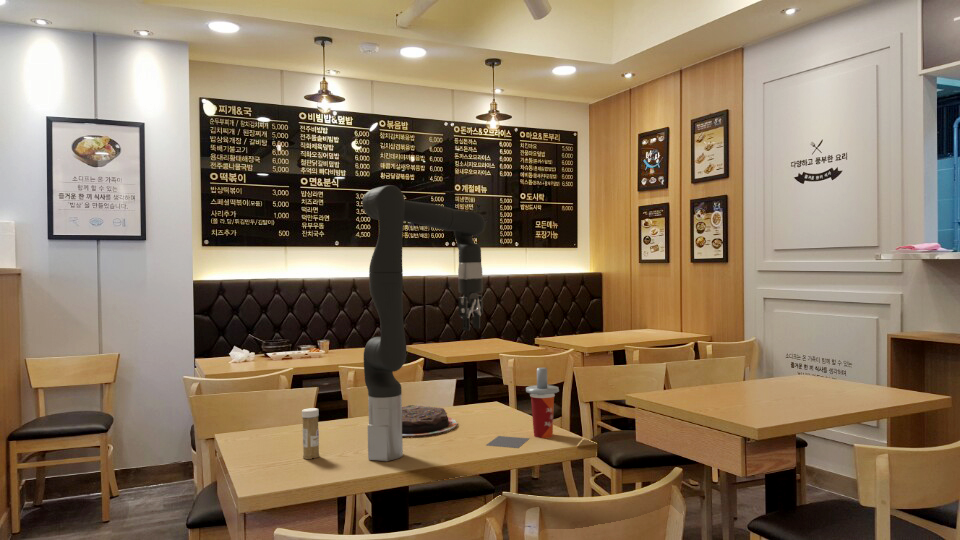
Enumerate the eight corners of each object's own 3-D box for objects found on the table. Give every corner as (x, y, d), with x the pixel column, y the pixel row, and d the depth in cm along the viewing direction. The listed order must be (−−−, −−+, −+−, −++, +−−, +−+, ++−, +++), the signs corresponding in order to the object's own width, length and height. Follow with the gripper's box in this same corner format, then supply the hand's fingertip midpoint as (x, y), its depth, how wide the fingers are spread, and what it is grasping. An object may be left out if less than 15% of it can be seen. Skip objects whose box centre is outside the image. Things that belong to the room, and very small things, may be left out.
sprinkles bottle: (319, 458, 176) (318, 410, 176) (302, 460, 175) (301, 411, 175) (319, 454, 181) (318, 407, 181) (303, 455, 180) (302, 408, 180)
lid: (554, 395, 188) (553, 371, 188) (521, 393, 192) (521, 370, 192) (562, 389, 198) (561, 366, 198) (531, 387, 201) (531, 365, 201)
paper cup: (554, 440, 190) (553, 393, 190) (529, 439, 192) (528, 393, 192) (556, 433, 198) (555, 389, 198) (532, 433, 199) (531, 388, 199)
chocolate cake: (425, 443, 192) (425, 421, 192) (354, 433, 206) (354, 413, 206) (472, 423, 216) (472, 404, 216) (406, 415, 230) (406, 397, 230)
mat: (518, 449, 181) (518, 448, 181) (485, 446, 185) (485, 445, 185) (529, 439, 192) (529, 438, 192) (498, 437, 195) (498, 435, 195)
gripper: (468, 277, 206) (469, 327, 206) (450, 278, 193) (451, 331, 193) (489, 276, 203) (490, 327, 203) (472, 277, 190) (474, 331, 190)
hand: (471, 329), depth 198 cm, fingers open, 8 cm apart
